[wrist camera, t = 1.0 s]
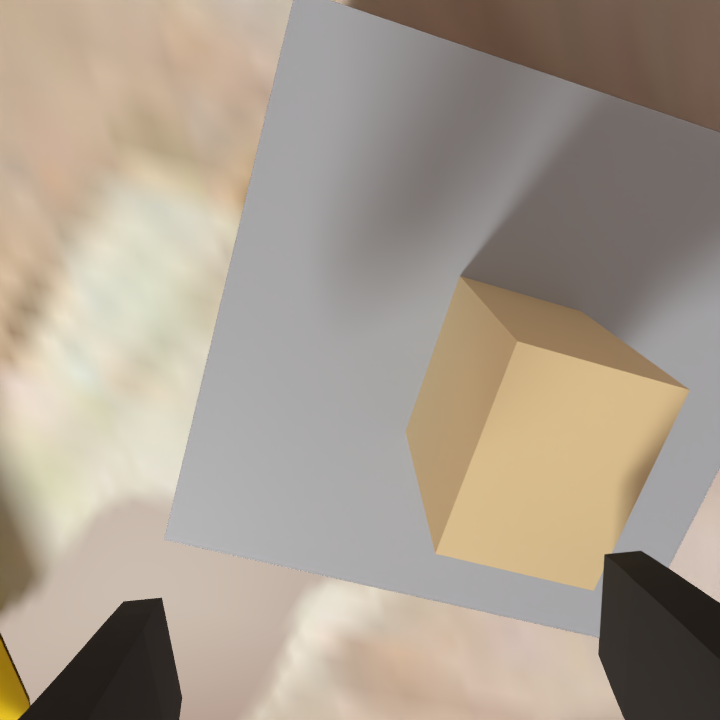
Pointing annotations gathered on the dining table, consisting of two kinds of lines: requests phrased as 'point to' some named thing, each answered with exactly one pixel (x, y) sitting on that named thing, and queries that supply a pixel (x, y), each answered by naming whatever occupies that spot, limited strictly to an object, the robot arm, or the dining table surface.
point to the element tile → (11, 687)
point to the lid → (459, 329)
